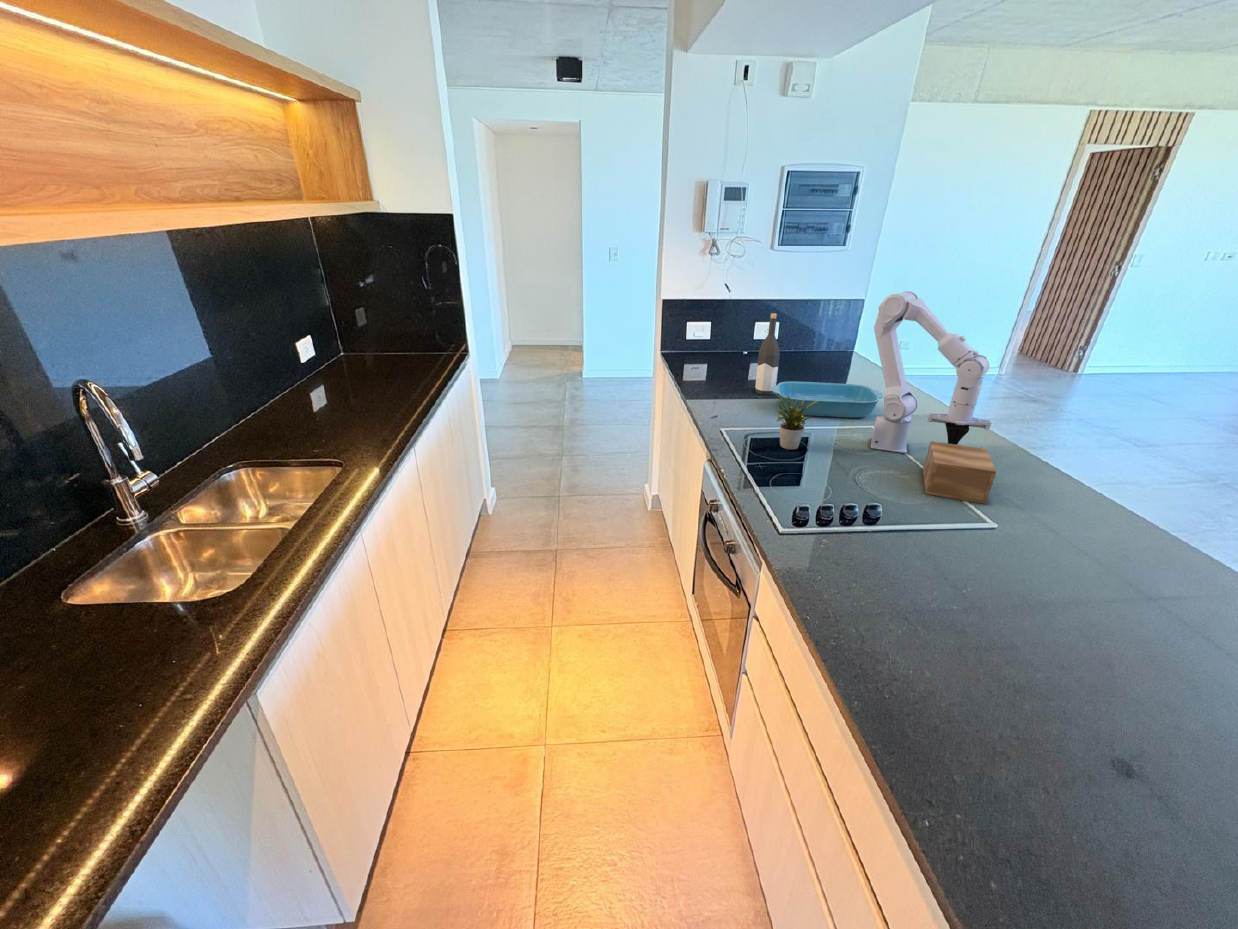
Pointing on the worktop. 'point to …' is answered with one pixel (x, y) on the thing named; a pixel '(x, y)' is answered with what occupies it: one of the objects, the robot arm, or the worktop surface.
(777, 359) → the wine bottle
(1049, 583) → the worktop surface
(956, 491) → the wooden box
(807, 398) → the casserole dish
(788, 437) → the house plant
